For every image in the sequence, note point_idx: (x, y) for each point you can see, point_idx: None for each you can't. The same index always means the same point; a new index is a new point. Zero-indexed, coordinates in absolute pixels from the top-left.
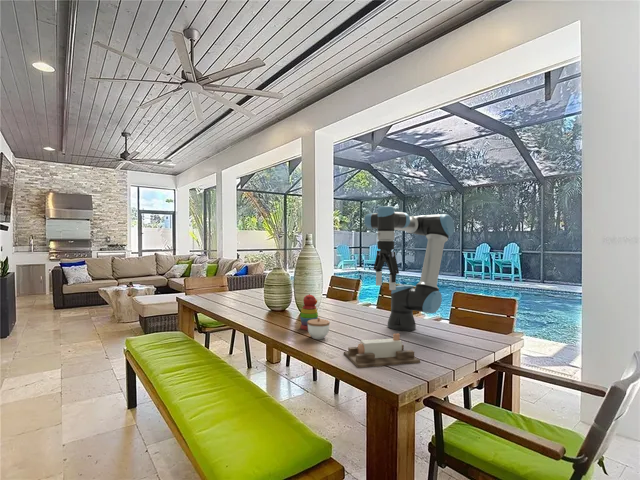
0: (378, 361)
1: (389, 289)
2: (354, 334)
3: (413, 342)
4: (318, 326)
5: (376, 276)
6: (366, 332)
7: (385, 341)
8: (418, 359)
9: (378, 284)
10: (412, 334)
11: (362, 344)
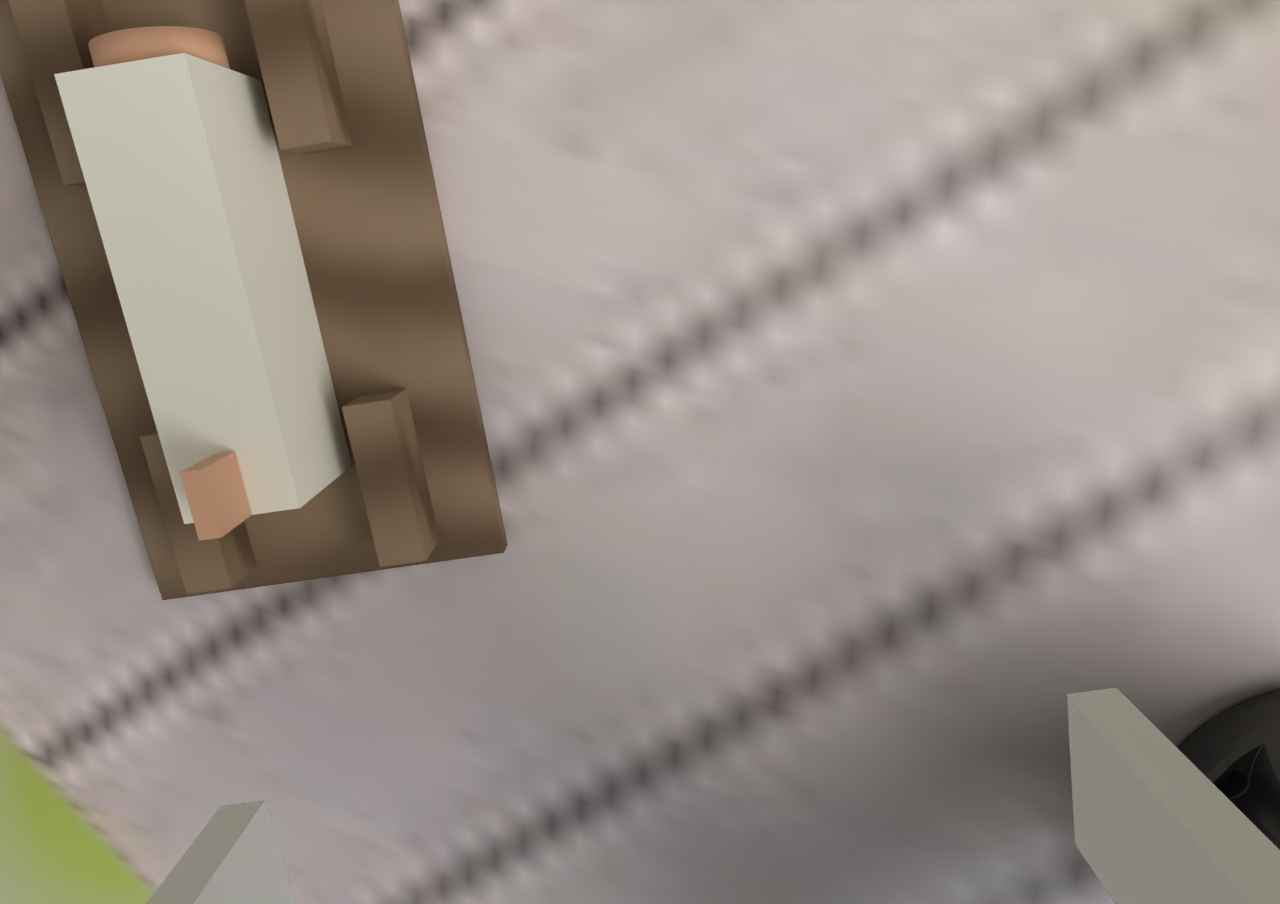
0: (92, 220)
1: (249, 807)
2: (1107, 215)
3: (732, 740)
4: None
5: (1260, 891)
6: (1166, 382)
7: (163, 346)
8: (174, 591)
9: (1082, 768)
10: (1001, 828)
11: (118, 63)
